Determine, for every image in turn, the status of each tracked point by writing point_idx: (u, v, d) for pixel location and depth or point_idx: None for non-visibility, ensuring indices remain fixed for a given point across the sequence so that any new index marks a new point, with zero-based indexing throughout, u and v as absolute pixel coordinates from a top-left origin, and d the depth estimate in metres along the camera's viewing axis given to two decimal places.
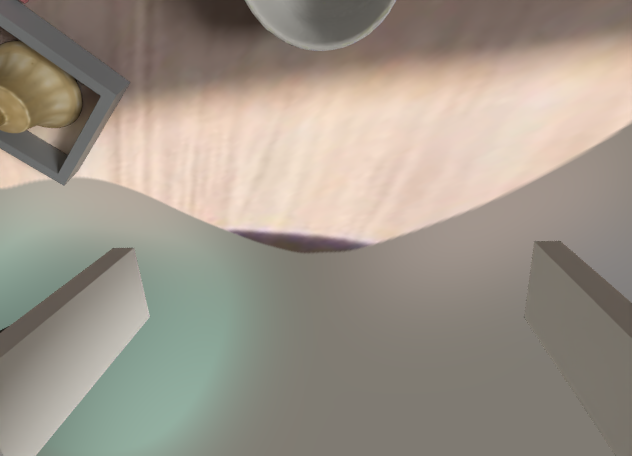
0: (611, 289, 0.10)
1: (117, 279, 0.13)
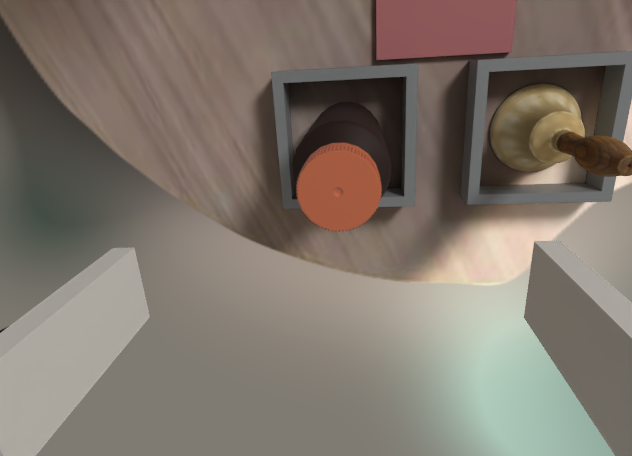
0: (611, 289, 0.10)
1: (117, 279, 0.13)
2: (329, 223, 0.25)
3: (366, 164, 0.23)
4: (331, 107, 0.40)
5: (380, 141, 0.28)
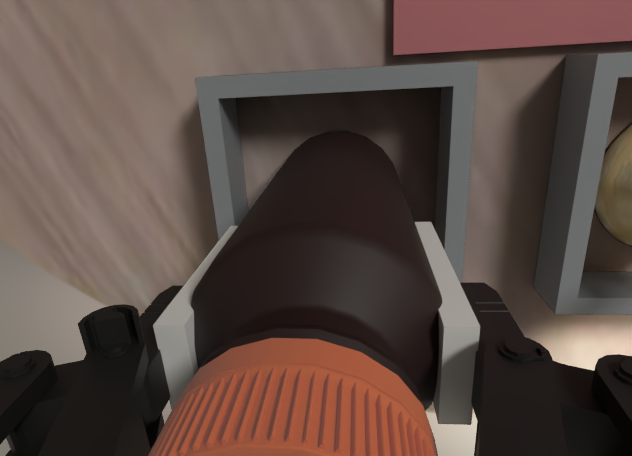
0: (444, 257, 0.12)
1: None
2: None
3: None
4: (310, 142, 0.21)
5: (425, 284, 0.10)
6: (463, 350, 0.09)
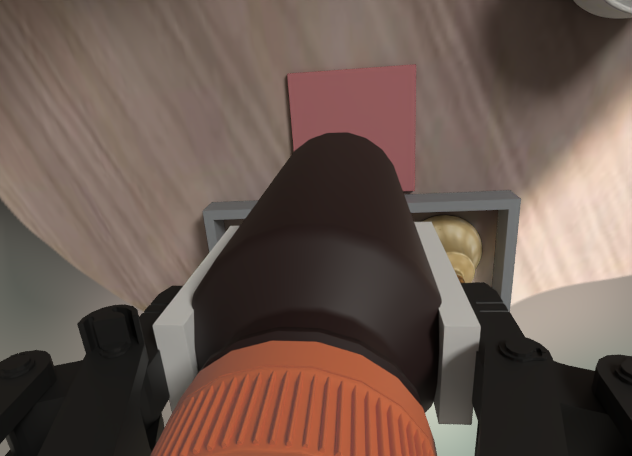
0: (444, 257, 0.12)
1: None
2: None
3: None
4: (310, 143, 0.21)
5: (425, 286, 0.10)
6: (463, 350, 0.09)
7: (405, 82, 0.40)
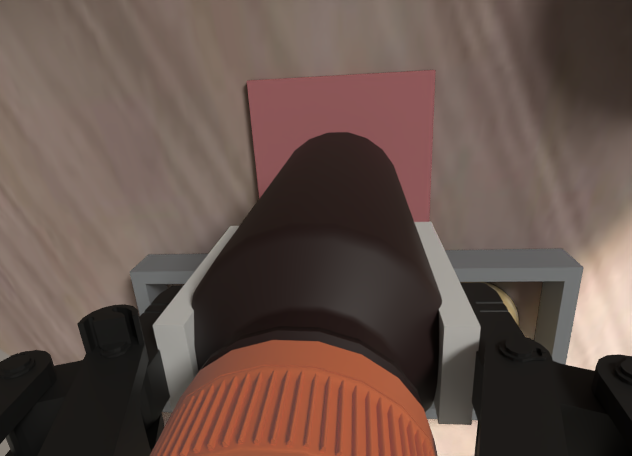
0: (444, 257, 0.12)
1: None
2: None
3: None
4: (311, 143, 0.21)
5: (425, 286, 0.10)
6: (463, 350, 0.09)
7: (418, 96, 0.27)
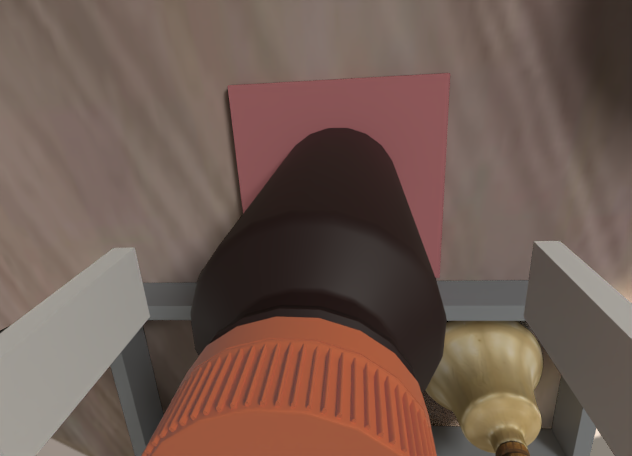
0: (610, 289, 0.10)
1: (117, 279, 0.13)
2: None
3: None
4: (311, 138, 0.22)
5: (422, 271, 0.10)
6: None
7: (430, 103, 0.23)
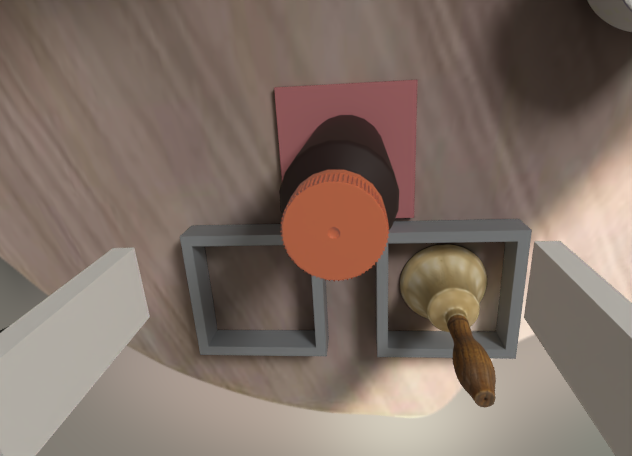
0: (611, 289, 0.10)
1: (117, 279, 0.13)
2: (321, 271, 0.20)
3: (370, 200, 0.18)
4: (329, 120, 0.35)
5: (387, 167, 0.23)
6: None
7: (404, 99, 0.36)
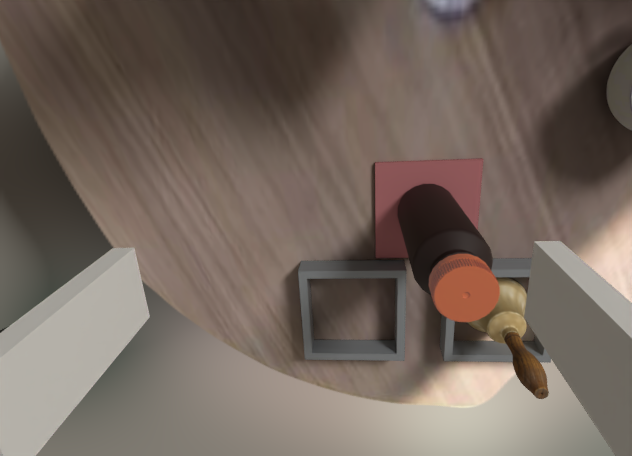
0: (611, 289, 0.10)
1: (117, 279, 0.13)
2: (456, 316, 0.33)
3: (491, 277, 0.31)
4: (419, 190, 0.47)
5: (486, 245, 0.36)
6: None
7: (473, 172, 0.48)
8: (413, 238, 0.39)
